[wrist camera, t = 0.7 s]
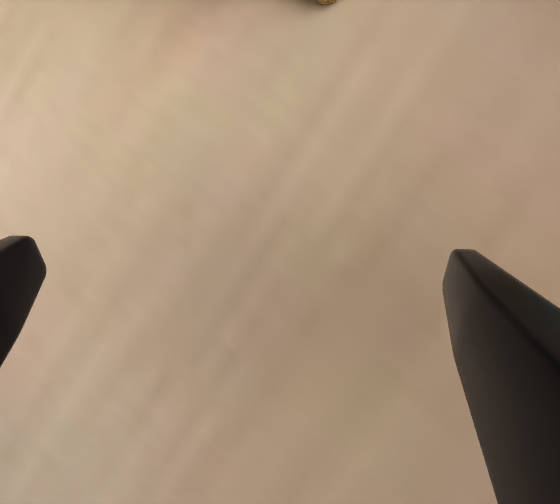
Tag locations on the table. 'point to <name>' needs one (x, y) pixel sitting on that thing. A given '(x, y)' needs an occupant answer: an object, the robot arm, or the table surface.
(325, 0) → the stuffed squirrel
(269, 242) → the table surface
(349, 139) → the table surface
